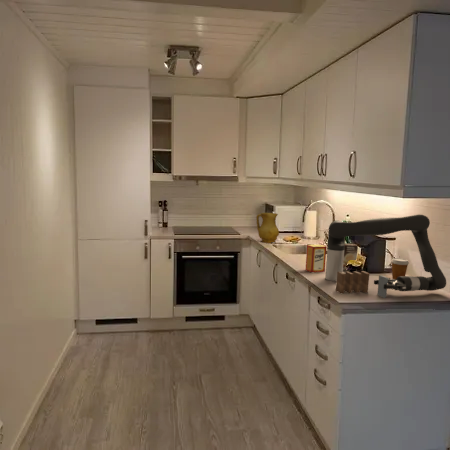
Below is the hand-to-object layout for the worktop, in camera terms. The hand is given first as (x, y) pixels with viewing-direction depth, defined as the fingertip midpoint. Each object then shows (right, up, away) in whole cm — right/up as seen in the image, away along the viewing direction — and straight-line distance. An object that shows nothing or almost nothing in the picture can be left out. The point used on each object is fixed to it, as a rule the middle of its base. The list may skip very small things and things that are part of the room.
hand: (379, 284), depth 212 cm
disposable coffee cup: (+24, -3, +36) cm, 43 cm away
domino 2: (-14, -5, +7) cm, 16 cm away
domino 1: (-18, -5, +6) cm, 19 cm away
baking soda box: (-21, +1, +51) cm, 55 cm away
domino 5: (+2, -6, +1) cm, 6 cm away
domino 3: (-9, -5, +8) cm, 13 cm away
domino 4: (-5, -5, +9) cm, 11 cm away
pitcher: (-40, +15, +154) cm, 160 cm away
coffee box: (+1, +1, +59) cm, 59 cm away
